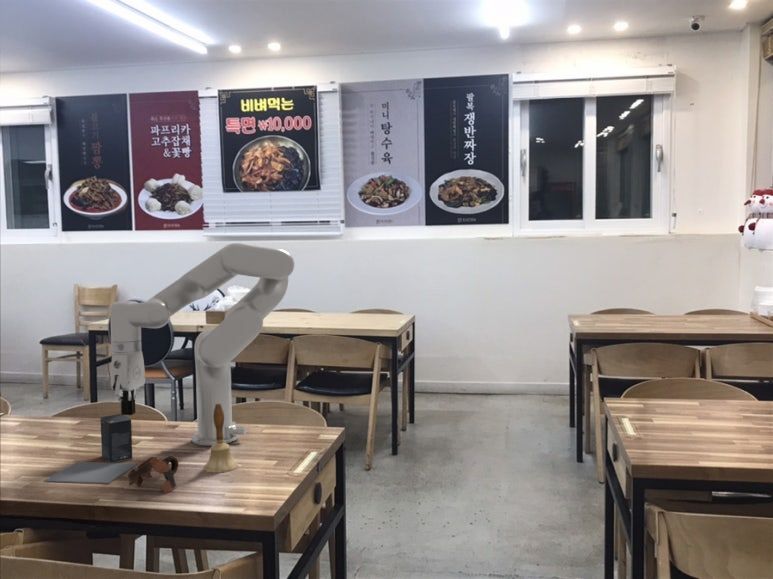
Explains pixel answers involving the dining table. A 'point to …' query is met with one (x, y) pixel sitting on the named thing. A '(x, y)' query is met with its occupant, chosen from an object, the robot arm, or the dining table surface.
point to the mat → (91, 472)
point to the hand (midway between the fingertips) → (128, 414)
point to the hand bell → (220, 448)
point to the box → (116, 438)
